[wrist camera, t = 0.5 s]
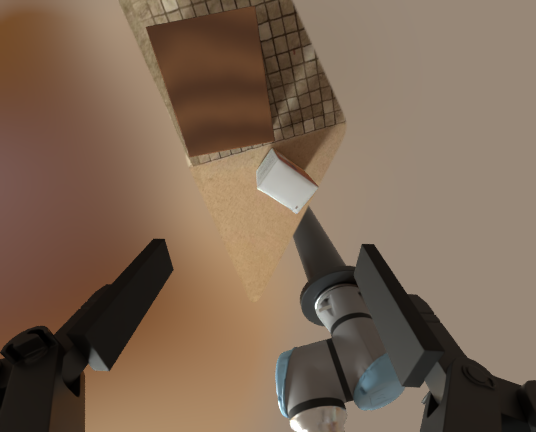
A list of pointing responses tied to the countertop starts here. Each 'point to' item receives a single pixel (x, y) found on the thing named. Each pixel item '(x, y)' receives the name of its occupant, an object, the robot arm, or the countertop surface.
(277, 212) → the countertop surface
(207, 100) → the chest
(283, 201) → the small box
